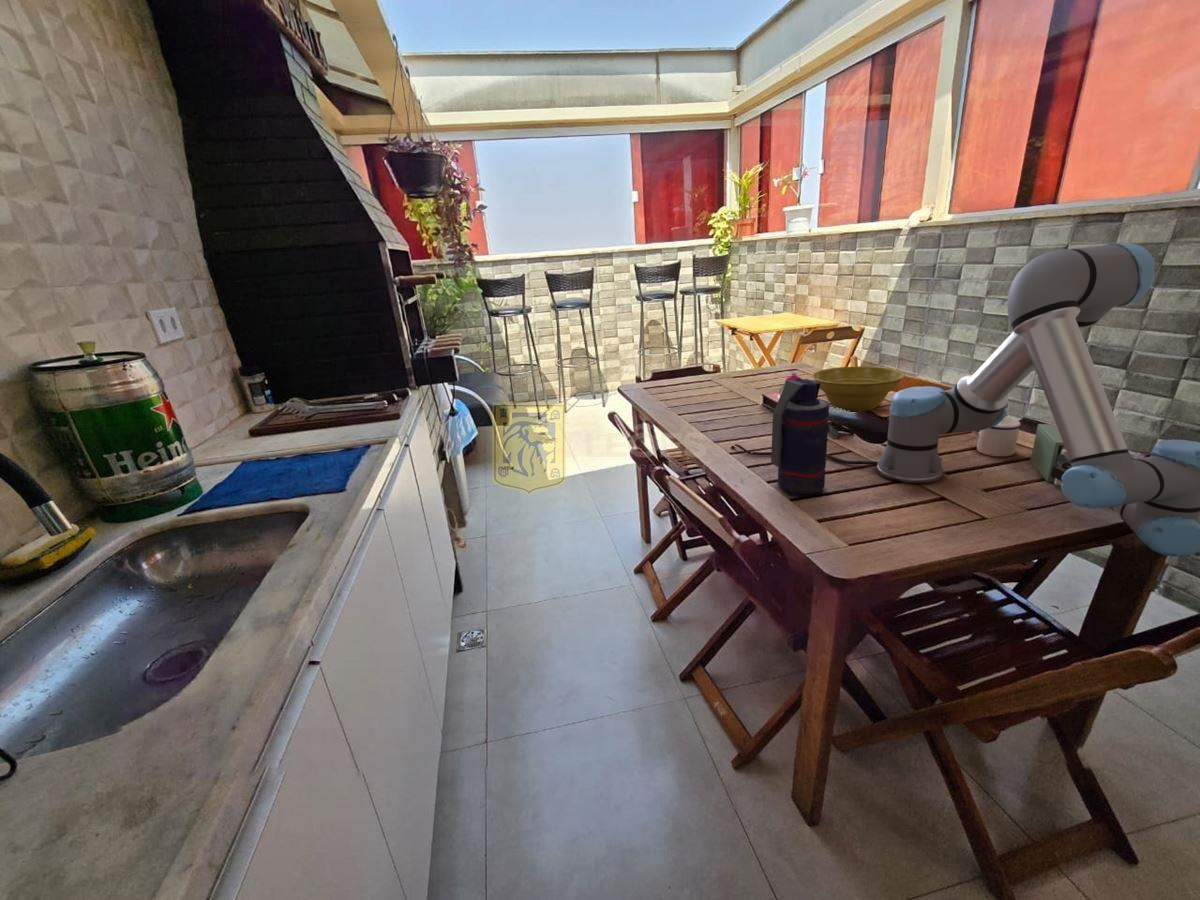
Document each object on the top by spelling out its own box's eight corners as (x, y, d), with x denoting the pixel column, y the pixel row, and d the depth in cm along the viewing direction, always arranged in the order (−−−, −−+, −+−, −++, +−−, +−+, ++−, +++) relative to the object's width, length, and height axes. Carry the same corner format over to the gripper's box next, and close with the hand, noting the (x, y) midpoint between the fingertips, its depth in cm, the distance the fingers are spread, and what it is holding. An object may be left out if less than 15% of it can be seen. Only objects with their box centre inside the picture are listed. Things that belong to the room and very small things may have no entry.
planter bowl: (820, 394, 215) (822, 364, 211) (905, 399, 197) (909, 366, 192) (801, 415, 191) (802, 381, 187) (896, 422, 173) (900, 385, 168)
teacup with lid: (1023, 453, 139) (1031, 414, 135) (998, 459, 137) (1006, 420, 133) (982, 441, 150) (988, 404, 146) (958, 446, 148) (964, 409, 144)
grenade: (808, 476, 140) (812, 373, 129) (833, 493, 129) (841, 381, 118) (763, 484, 138) (764, 380, 128) (785, 502, 127) (788, 389, 117)
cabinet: (1115, 486, 117) (1127, 445, 113) (1046, 481, 122) (1056, 442, 119) (1091, 463, 129) (1101, 425, 125) (1030, 460, 134) (1038, 423, 131)
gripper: (1053, 511, 103) (1025, 471, 121) (1218, 526, 92) (1159, 480, 110) (1061, 479, 100) (1030, 443, 118) (1231, 490, 90) (1169, 449, 108)
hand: (1093, 461), depth 114 cm, fingers closed on drawer, 11 cm apart
